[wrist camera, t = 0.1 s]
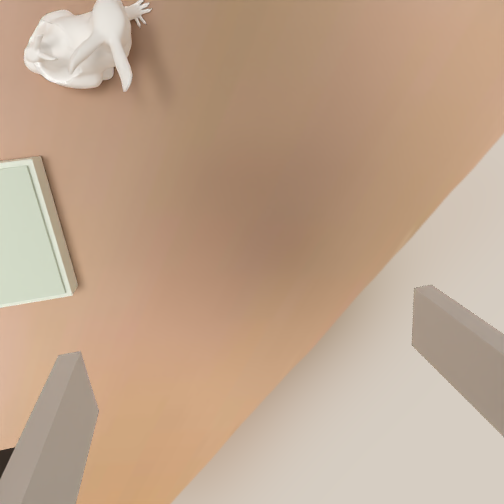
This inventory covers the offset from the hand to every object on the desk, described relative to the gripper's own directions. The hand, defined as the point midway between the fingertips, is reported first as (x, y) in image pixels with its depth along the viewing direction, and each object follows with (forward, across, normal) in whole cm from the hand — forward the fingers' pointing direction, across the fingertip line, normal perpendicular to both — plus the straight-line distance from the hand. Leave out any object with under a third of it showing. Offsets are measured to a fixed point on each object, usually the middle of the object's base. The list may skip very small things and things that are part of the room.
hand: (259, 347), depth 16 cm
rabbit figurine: (+30, -8, +14) cm, 34 cm away
